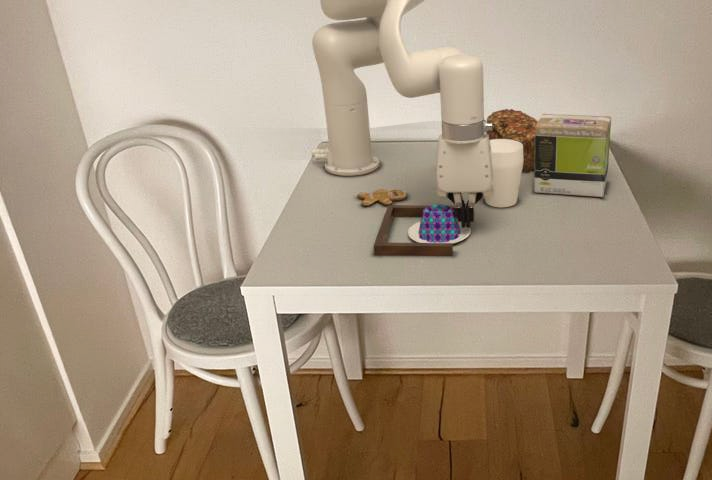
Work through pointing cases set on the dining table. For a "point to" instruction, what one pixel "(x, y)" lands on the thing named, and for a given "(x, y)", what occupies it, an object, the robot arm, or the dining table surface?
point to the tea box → (571, 154)
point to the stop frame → (408, 248)
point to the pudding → (438, 226)
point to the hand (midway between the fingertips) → (466, 224)
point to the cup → (505, 172)
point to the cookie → (382, 196)
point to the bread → (515, 132)
